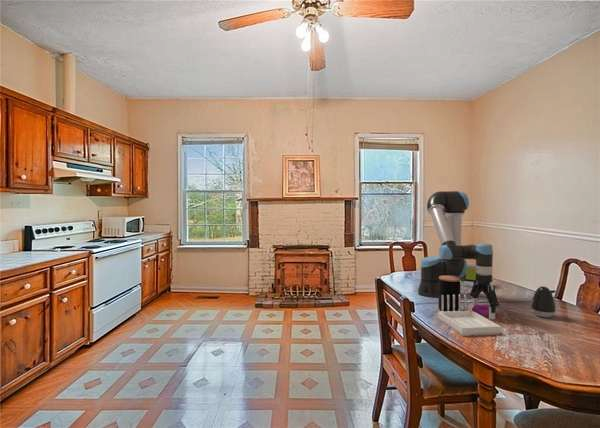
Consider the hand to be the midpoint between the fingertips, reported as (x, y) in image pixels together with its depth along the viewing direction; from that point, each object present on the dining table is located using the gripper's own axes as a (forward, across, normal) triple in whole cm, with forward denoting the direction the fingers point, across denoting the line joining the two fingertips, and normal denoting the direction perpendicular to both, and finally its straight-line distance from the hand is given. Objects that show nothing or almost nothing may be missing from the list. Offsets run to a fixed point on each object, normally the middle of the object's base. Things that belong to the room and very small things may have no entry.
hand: (483, 314), depth 176 cm
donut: (0, 0, 0) cm, 0 cm away
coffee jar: (0, -8, -14) cm, 16 cm away
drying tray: (0, +14, -17) cm, 22 cm away
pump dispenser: (0, +5, +29) cm, 29 cm away
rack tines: (0, +2, -17) cm, 17 cm away
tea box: (0, -58, +29) cm, 65 cm away
